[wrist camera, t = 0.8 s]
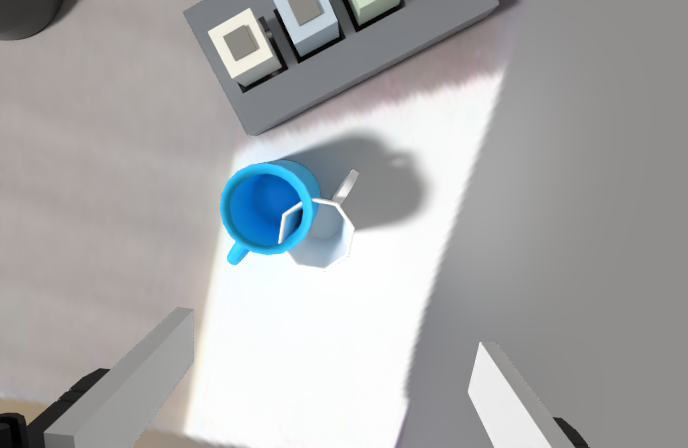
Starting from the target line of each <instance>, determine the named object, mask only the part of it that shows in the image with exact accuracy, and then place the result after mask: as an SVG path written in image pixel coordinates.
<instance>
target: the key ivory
mask: <svg viewBox="0 0 688 448" xmlns="http://www.w3.org/2000/svg"><path fill="white" fill-rule="evenodd" d="M208 34H209V36H210V37H211V39H212V41H213V43H214V45H215V47H216V49H217V51H218V53H219V55H220V57H221V59H222V61H223V63H224V65H225V66H226V68H227V70H228V72H229V74H230V76H231V78H232V79H233V80H235V81H237V82H238V83H240V84H242V85H243V86H245V87H246V86H248V85H250V84H251V83H253V82H255V81H257V80H259V79H261V78H263V77H264V76H266V75H268V74H270V73H272V72H274V71H276V70H277V69H279V68H281V67H282V66H281V64H280V62H279V60H278V57H277V55H276V53H275V51H274V49H273V47H272V45H271V43H270V41H269V39H268V37H267V35H266V33H265V30H264V28H263V26H262V24H261V23H260V22H259V20H258V19H257V17H256V16H255V15H254V13H253V12H252V10H251V9H250V8H248V9H247V10H245V11H243V12H241V13H240V14H238V15H236V16H234V17H232V18H231V19H229V20H227V21H225V22H224V23H222V24H220V25H218V26H217V27H215V28H213V29H211V30H210V31H208Z"/></svg>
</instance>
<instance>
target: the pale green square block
mask: <svg viewBox="0 0 688 448" xmlns="http://www.w3.org/2000/svg"><path fill="white" fill-rule="evenodd" d="M348 2H349V4H350V6H351V9H352V11H353V13H354V16H355V18H356V20H357V23H358V25H361V24H363V23H365V22H367V21H369V20H370V19H372V18H374V17H376V16H378V15H380V14H382V13H383V12H385V11H387V10H389V9H391V8H393V7H395V6H396V5H398V4H399V2H400V0H348Z"/></svg>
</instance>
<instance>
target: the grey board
mask: <svg viewBox="0 0 688 448" xmlns="http://www.w3.org/2000/svg"><path fill="white" fill-rule="evenodd" d="M329 2H330V5H331V7H332V9H333V11H334V14H335V16H336V18H337V21H338V29H339V32H340V34H341V36H342V39H343V40H342V41H340V42H339V43H337V44H335V45H333V46H331V47H329V48H327V49H325V50H324V51H322V52H320V53H318V54H316V55H314V56H312V57H311V58H309V59H307V60H305V61H303V62H301V63H299V62H298V60H297V58H296V56H295V54H294V52H293V50H292V48H291V45H290V43H289V41H288V39H287V37H286V35H285V33H284V31H283V28H282V26H281V24H280V22H282V21H283V20H282V17H281V15H280V13H279V11H278V9H277V7H276V5H275V2H274V0H203V1H201V2H199V3H197V4H196V5H194V6H192V7H191V8H189V9H187V10H185V11H184V12H183V14H184V16H185V18H186V19H187V21H188V23H189V25H190V27H191V29H192V31H193V33H194V35H195V37H196V39H197V40H198V42H199V44H200V46H201V48H202V50H203V52H204V54H205V56H206V58H207V59H208V61H209V63H210V65H211V67H212V69H213V71H214V73H215V75H216V77H217V78H218V80H219V82H220V84H221V86H222V88H223V90H224V92H225V94H226V96H227V97H228V99H229V101H230V103H231V105H232V107H233V109H234V111H235V113H236V115H237V116H238V118H239V120H240V122H241V124H242V126H243V128H244V130H245V132H246V134H247V135H252V136H257V135H259V134H261V133H263V132H265V131H267V130H268V129H270V128H272V127H274V126H276V125H278V124H280V123H282V122H284V121H286V120H288V119H290V118H292V117H294V116H296V115H298V114H299V113H301V112H303V111H305V110H307V109H309V108H311V107H313V106H315V105H317V104H319V103H321V102H323V101H325V100H327V99H329V98H331V97H332V96H334V95H336V94H338V93H340V92H342V91H344V90H346V89H348V88H350V87H352V86H354V85H356V84H358V83H360V82H362V81H363V80H365V79H367V78H369V77H371V76H373V75H375V74H377V73H379V72H381V71H383V70H385V69H387V68H389V67H391V66H393V65H395V64H396V63H398V62H400V61H402V60H404V59H406V58H408V57H410V56H412V55H414V54H416V53H418V52H420V51H422V50H424V49H426V48H427V47H429V46H431V45H433V44H435V43H437V42H439V41H441V40H443V39H445V38H447V37H449V36H451V35H453V34H455V33H457V32H459V31H460V30H462V29H464V28H466V27H468V26H470V25H472V24H474V23H476V22H478V21H480V20H482V19H484V18H486V17H487V16H488V15H489V14H490V13H491V12H492V11H493V10H494V9H495V8H496V7H497V6H498V5H499V1H498V0H400V2H399V4H398V5H396V7H397V9H398V11H396V12H395V13H393V14H391V15H389V16H387V17H385V18H383V19H382V20H380V21H378V22H376V23H374V24H372V25H370V26H368V27H367V28H365V29H363V30H361V31H359V32H357V33H356V31H355V29H354V27H353V24H352V22H351V20H350V17H349V15H348V13H347V10H346V8H345V6H344V3H343V1H342V0H329ZM248 8H250V9H251V10H252V12H253V13H254V15H255V16H256V17H257V19H258V20H259V22H260V23H261V24H262V26H263V28H264V30H265V31H266V30H268V29H270V31H271V33H272V35H273V37H274V39H275V41H276V43H277V45H278V48H279V50H280V52H281V54H282V56H283V58H284V60H285V62H286V64H287V66H288V68H289V69H288V70H286V71H284V72H283V73H281V74H279V75H277V76H275V77H273V78H271V79H269V80H268V81H266V82H264V83H262V84H260V85H258V86H256V87H255V88H253V89H251V90H249V91H248V90H247V88H246V87H245V86H243V85H242V84H240V83H238V82H237V81H235V80H233V79H232V78H231V76H230V74H229V72H228V70H227V68H226V66H225V65H224V63H223V61H222V59H221V57H220V55H219V53H218V51H217V49H216V47H215V45H214V43H213V41H212V39H211V37H210V36H209V34H208V31H210V30H211V29H213V28H215V27H217V26H218V25H220V24H222V23H224V22H225V21H227V20H229V19H231V18H232V17H234V16H236V15H238V14H240V13H241V12H243V11H245V10H247V9H248Z"/></svg>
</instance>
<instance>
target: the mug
mask: <svg viewBox="0 0 688 448" xmlns="http://www.w3.org/2000/svg"><path fill="white" fill-rule="evenodd" d="M311 198H321V195H320V188H319V185H318V183H317V181H316V179H315V177H314V175H313V174H312V173H311V172H310V171H309V170H308V169H307V168H306V167H304V166H302V165H300V164H299V163H297V162H293V161H289V160H278V161H270V162H264V163H259V164H253V165H249V166H247V167H245V168H243V169H241V170H239V171H237V172H236V173H235V174H234V175H233V176H232V177H231V178H230V179H229V180H228V181H227V184H226V186H225V188H224V190H223V192H222V194H221V203H220V212H221V217H222V221H223V224H224V226H225V228H226V229H227V231H228V233H229V235H230V236H231V237H232V238H233V239H234V240H235V241H236V242H235V244H234V245H233V247H232V249H231V250H230V252H229V254H228V256H227V260H228V262H229V263H230V264H232V265H237V264H238V263H239V262H240V261H241V260H242V259H243V258H244V257H245V256H246V254H247V253H248V252H249V251H252V252H254V253H260V254H265V255H271V254H280V253H283V252H285V251H288V250H290V249H292V248H294V247H295V246H296V245H297V244H298V243H299V242H301V241H302V240H303V239H304V237H305V236H306V234H307V232H308V230H309V228H310V226H311V224H312V222H313V220H314V218H315V216H316V214H317V212H318V208H319V203H318V202H313V201H312V200H311ZM301 201H302V207H303V216H302V221H301V222H300V224H299V225H298V226H297V227H296V229H295V230H294V231H293V232H292V233H291V234H290V235H289V236H288V237H287V238H286V239H285V240H284V241H283V242H282V243H280V244H279V243H278V242H279V235H280V228H281V222H282V215H283V214H284V213H285V212H287V211H288V210H289V209H291V208H292V207H294V206H295V205H297V204H298V203H300V202H301Z"/></svg>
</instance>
